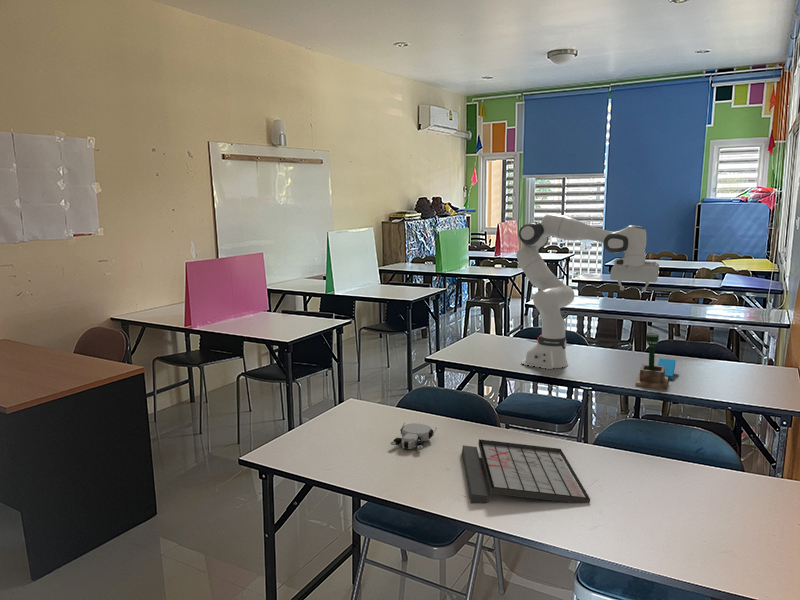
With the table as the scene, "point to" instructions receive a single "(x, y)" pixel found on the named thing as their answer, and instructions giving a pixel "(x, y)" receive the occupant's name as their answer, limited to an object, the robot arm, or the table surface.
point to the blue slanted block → (667, 366)
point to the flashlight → (652, 348)
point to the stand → (652, 377)
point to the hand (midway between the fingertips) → (632, 290)
